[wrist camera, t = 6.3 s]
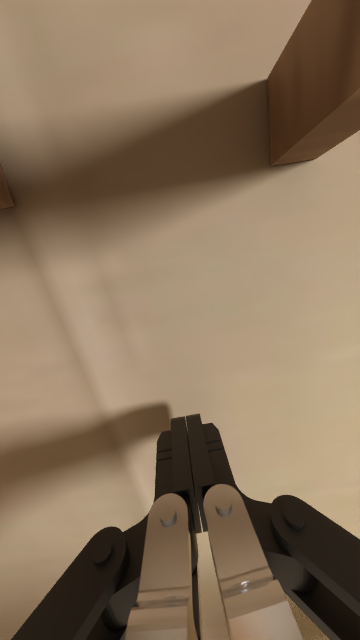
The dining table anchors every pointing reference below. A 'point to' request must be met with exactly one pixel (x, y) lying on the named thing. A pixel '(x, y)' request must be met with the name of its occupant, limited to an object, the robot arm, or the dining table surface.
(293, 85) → the bridge
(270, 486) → the dining table surface
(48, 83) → the dining table surface
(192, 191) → the dining table surface
